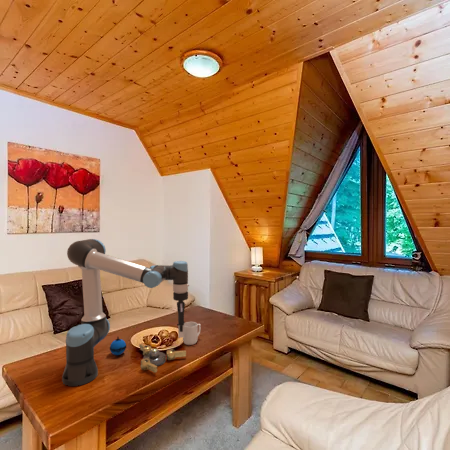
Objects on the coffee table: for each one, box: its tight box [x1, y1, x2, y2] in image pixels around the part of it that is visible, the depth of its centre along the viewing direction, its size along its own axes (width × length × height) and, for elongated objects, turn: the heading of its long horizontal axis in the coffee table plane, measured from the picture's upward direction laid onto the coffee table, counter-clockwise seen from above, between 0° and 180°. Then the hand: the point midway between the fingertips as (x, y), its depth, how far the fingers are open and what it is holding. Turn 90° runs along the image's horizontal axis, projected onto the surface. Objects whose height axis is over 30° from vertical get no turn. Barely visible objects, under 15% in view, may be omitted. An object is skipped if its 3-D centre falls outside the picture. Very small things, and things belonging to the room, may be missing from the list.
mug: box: [182, 321, 202, 346], centre depth 174 cm, size 12×9×11 cm
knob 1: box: [138, 343, 152, 357], centre depth 158 cm, size 10×4×4 cm, turn 42°
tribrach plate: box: [142, 348, 167, 367], centre depth 150 cm, size 12×12×6 cm
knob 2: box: [140, 358, 158, 373], centre depth 140 cm, size 10×4×4 cm, turn 53°
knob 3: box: [166, 349, 187, 361], centre depth 152 cm, size 10×4×4 cm, turn 102°
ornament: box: [109, 336, 127, 356], centre depth 157 cm, size 9×9×10 cm
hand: (181, 336), depth 146 cm, fingers closed
